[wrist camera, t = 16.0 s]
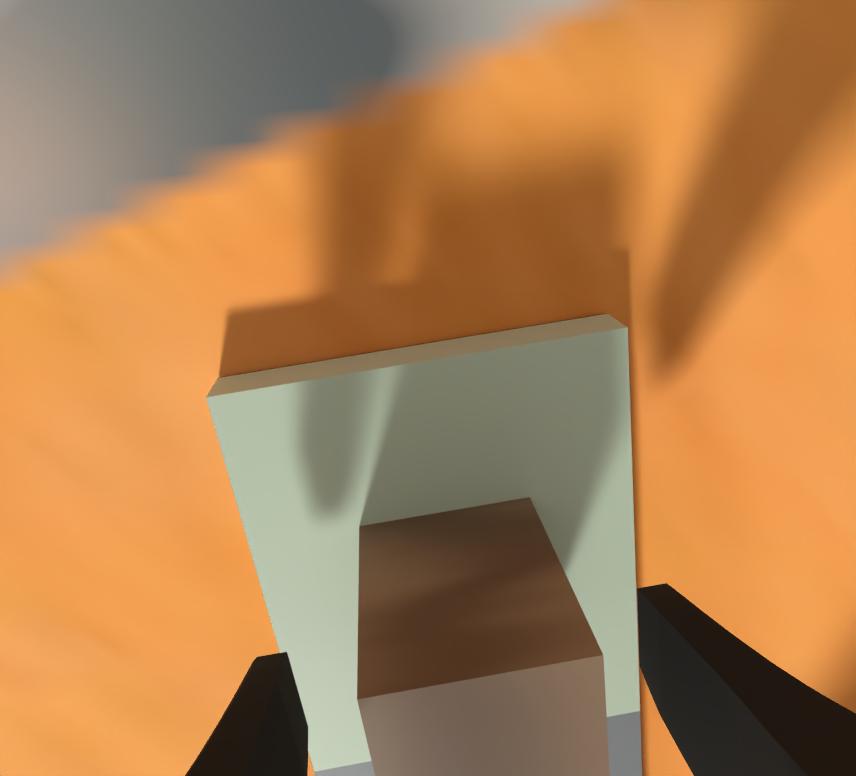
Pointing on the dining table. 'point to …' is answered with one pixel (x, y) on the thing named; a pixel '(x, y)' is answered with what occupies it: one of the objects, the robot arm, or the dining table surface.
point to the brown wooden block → (475, 650)
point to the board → (435, 491)
